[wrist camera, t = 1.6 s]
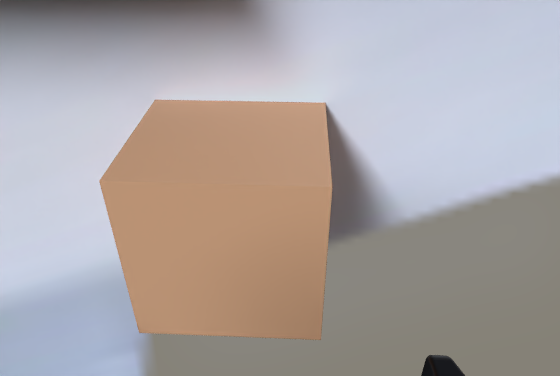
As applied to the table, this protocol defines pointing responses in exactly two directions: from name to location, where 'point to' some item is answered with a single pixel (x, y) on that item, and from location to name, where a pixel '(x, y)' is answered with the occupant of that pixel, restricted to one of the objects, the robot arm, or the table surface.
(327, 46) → the table surface
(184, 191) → the terracotta block
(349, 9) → the table surface
